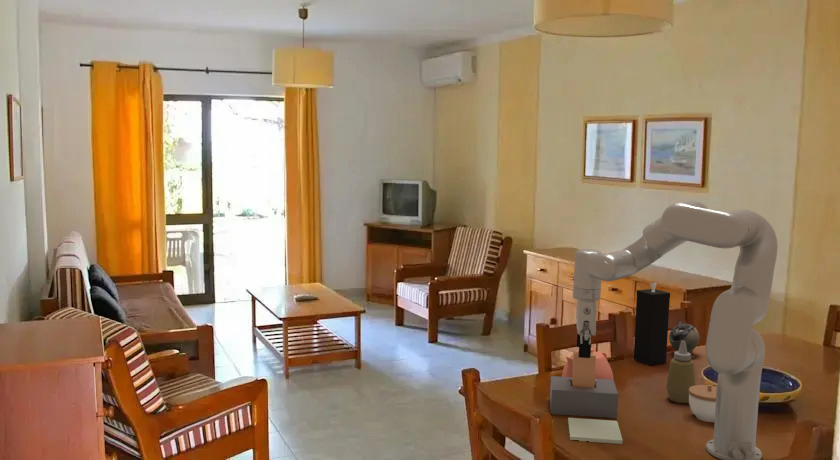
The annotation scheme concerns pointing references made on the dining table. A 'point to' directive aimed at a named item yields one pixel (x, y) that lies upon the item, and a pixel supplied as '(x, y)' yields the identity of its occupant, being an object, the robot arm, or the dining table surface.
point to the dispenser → (583, 398)
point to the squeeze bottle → (680, 375)
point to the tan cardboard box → (583, 371)
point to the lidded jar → (703, 401)
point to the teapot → (601, 366)
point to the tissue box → (651, 326)
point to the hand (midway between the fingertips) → (583, 352)
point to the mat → (594, 430)
